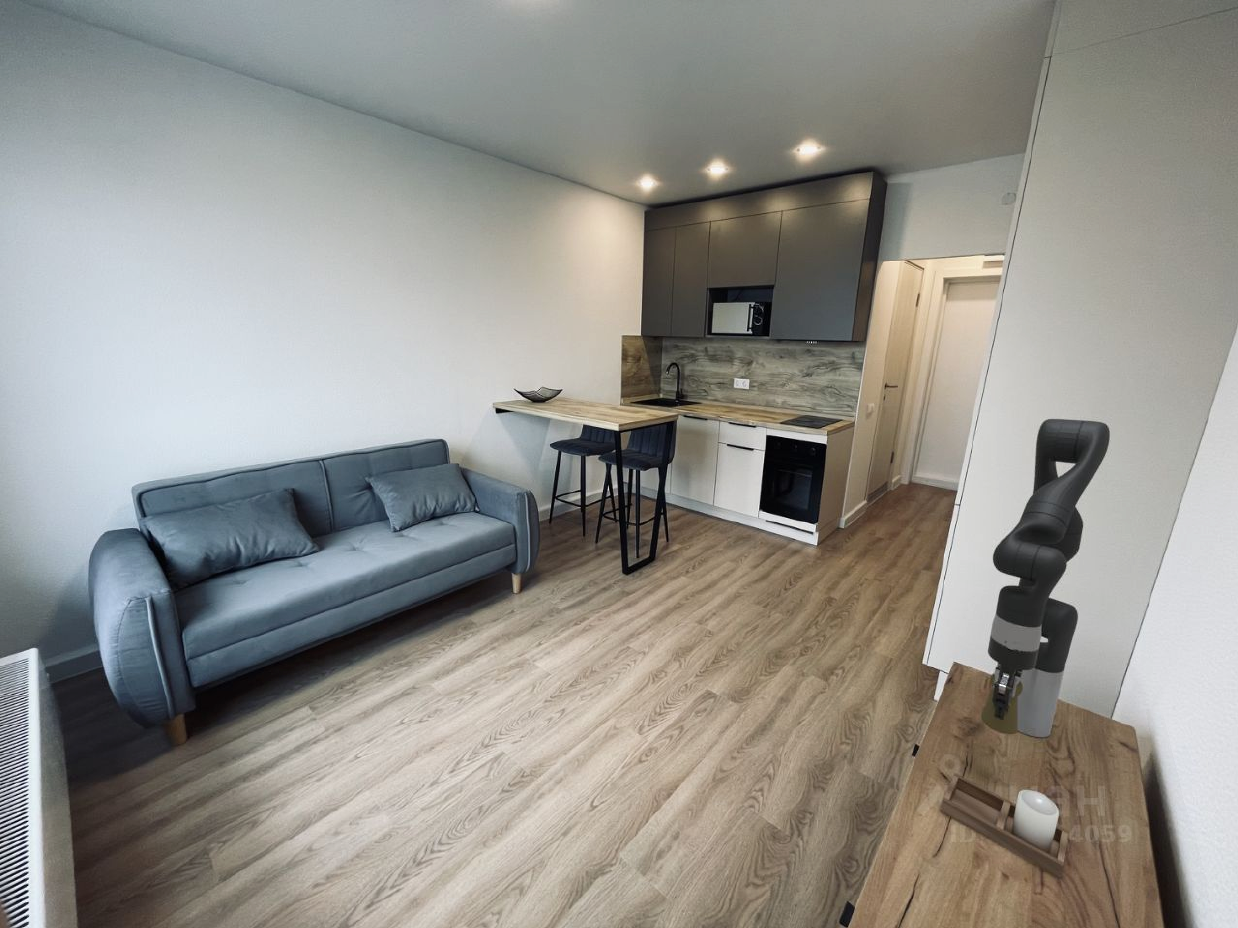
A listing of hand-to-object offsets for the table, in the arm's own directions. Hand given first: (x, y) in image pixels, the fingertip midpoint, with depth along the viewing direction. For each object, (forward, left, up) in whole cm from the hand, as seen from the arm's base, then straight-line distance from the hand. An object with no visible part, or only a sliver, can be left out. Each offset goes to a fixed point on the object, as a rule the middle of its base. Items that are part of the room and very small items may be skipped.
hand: (1001, 713), depth 100 cm
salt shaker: (+12, +8, -15) cm, 21 cm away
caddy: (+12, +4, -16) cm, 21 cm away
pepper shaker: (0, 0, -2) cm, 2 cm away
